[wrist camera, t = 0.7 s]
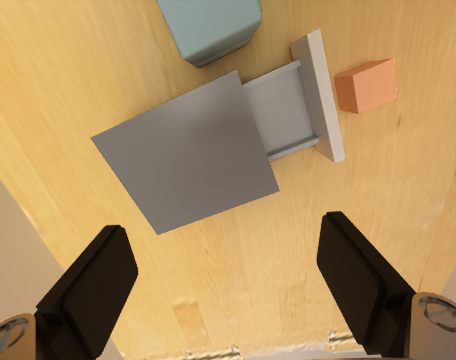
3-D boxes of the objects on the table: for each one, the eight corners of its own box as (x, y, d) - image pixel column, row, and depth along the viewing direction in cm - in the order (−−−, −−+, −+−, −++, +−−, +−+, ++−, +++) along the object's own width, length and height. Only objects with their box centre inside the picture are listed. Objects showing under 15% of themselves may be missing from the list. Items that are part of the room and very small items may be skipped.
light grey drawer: (300, 40, 28) (319, 28, 22) (324, 146, 34) (345, 159, 28) (185, 93, 30) (175, 95, 24) (227, 183, 36) (227, 202, 30)
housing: (233, 74, 30) (236, 69, 21) (266, 164, 36) (279, 190, 27) (127, 123, 33) (90, 137, 24) (173, 200, 39) (157, 235, 30)
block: (368, 62, 30) (394, 57, 25) (373, 96, 32) (397, 98, 27) (333, 77, 31) (352, 75, 26) (340, 110, 33) (358, 114, 28)
